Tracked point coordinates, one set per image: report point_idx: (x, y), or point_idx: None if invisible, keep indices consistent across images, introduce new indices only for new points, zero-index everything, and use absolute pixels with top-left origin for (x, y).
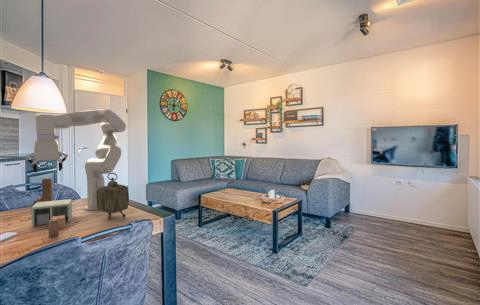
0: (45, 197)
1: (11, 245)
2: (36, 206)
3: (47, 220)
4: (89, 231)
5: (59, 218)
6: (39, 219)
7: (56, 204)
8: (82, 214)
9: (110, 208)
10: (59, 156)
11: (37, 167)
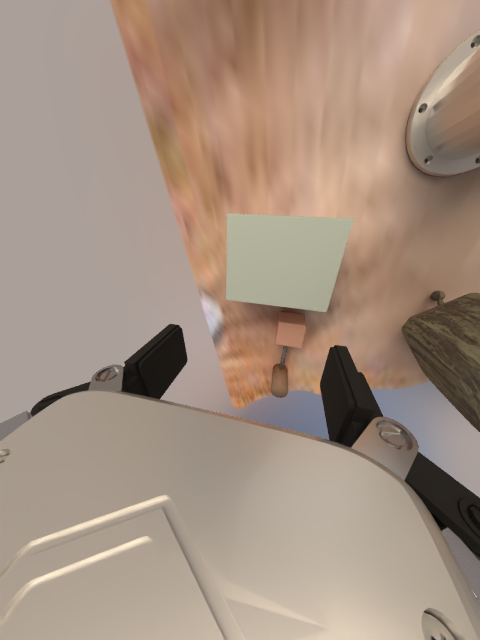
0: None
1: (228, 370)
2: (236, 292)
3: None
4: None
5: (292, 346)
6: None
7: (289, 300)
8: (367, 226)
9: (426, 372)
10: (443, 539)
11: (162, 346)
